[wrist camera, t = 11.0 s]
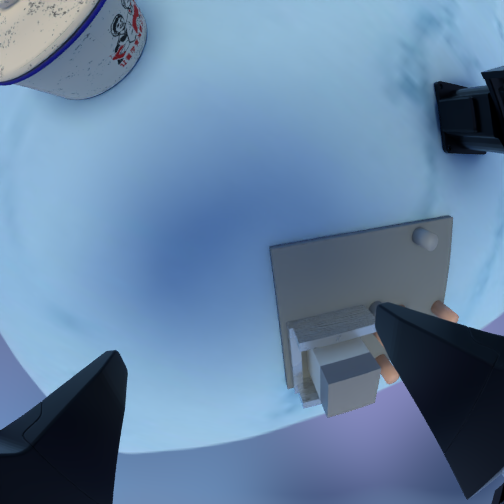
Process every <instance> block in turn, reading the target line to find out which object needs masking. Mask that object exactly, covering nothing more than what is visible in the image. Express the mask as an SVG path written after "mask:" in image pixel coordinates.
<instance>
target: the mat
mask: <svg viewBox="0 0 504 504" xmlns="http://www.w3.org/2000/svg"><path fill="white" fill-rule="evenodd" d="M452 224H453V217H451V216H444V217H439V218H433V219H427V220H421V221H415V222H409V223H404V224H398V225H392V226H386V227H380V228H375V229H369V230H363V231H357V232H352V233H346V234H340V235H334V236H329V237H323V238H317V239H311V240H306V241H300V242H294V243H288V244H283V245H277V246H271V247H270V255H271V262H272V270H273V277H274V285H275V293H276V301H277V309H278V317H279V325H280V333H281V341H282V349H283V358H284V366H285V375H286V384H287V388H288V389H290V388H293V382H292V372H291V361H290V351H289V342H288V332H287V323H286V322H289V321H294V320H299V319H304V318H308V317H313V316H317V315H322V314H326V313H330V312H334V311H339V310H343V309H347V308H351V307H355V306H359V305H362V304H364V305H365V306H366V308H367V309H368V310H369V307H370V305H371V304H372V303H374V302H376V301H380V302H381V303H385V302H390V303H393V304H396V305H401V304H402V305H404V306H405V307H406V308H409V309H412V310H416V311H419V312H422V313H425V314H428V315H432V316H435V317H437V316H436V315H435V314H434V313H432V312H431V307H432V305H433V303H434V302H435V301H437V300H439V301H441V302H442V303H444V297H445V291H446V285H447V278H448V270H449V262H450V252H451V240H452ZM418 227H420V228H422V229H425V230H427V231H429V232H431V233H433V234H435V235H437V237H438V244H437V247H436V248H435V249H434V250H433V251H428V250H426V249H425V248H423V247H421V246H419V245H417V244H415V243H414V242H413V241H412V233H413V231H414V230H415V229H416V228H418ZM360 339H361V340H362V341H363V343H364V344H365V346H366V347H367V348H368V350H369V351H370V353H371V354H372V356H373V357H374V358H376V357H377V356H379V355H382V354H384V355H385V356H386V357H387V358H388V360H390V359H389V357H388V355H387V352H386V350H385V348H384V347H383V346H382V345H381V343H380V342H379V341H378V340H377V338H376V337H375V336H374V335H373V333H371V334H367V335H364V336H360ZM301 357H302V372H303V378H307V377H311V376H310V373H309V371H308V359H307V350H306V351H302V352H301Z"/></svg>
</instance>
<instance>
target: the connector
mask: <svg viewBox="0 0 504 504" xmlns="http://www.w3.org/2000/svg"><path fill="white" fill-rule="evenodd" d="M307 359H308V371H309V373H310V376H311V378H312V381H313V383H314V386H315V388H316V391H317V393H318V396H319V398H320V401H321V403H322V406H323V408H324V411H325V413H326V416H327V418H329V417H332V416H336V415H339V414H342V413H346V412H349V411H352V410H355V409H358V408H361V407H364V406H367V405H370V404H373V403H375V399H376V394H377V389H378V384H379V379H380V373H381V367H380V366H379V364H378V363H377V361H376V360H375V358H374V357H373V356H372V354H371V353H370V351H369V350H368V348H367V347H366V346H365V344H364V343H363V341H362V340H361V339H360V337H357V338H353V339H350V340H346V341H342V342H339V343H335V344H331V345H327V346H323V347H319V348H315V349H311V350H307Z"/></svg>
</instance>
